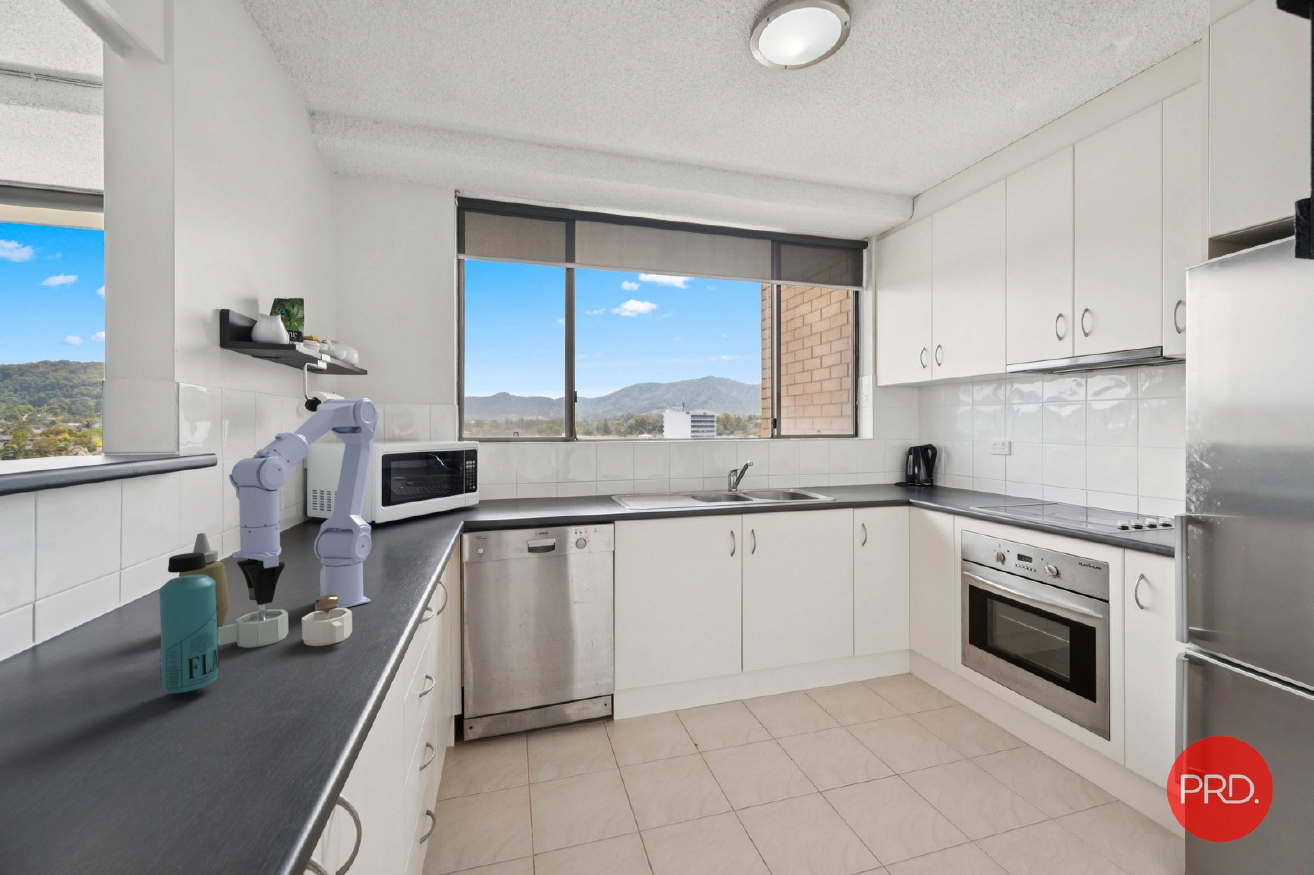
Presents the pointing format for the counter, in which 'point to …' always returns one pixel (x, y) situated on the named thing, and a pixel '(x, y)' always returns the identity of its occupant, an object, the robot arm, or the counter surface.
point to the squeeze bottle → (213, 576)
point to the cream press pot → (326, 627)
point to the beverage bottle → (188, 627)
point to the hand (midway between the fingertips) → (261, 600)
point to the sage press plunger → (261, 609)
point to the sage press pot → (255, 630)
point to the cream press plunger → (326, 604)
